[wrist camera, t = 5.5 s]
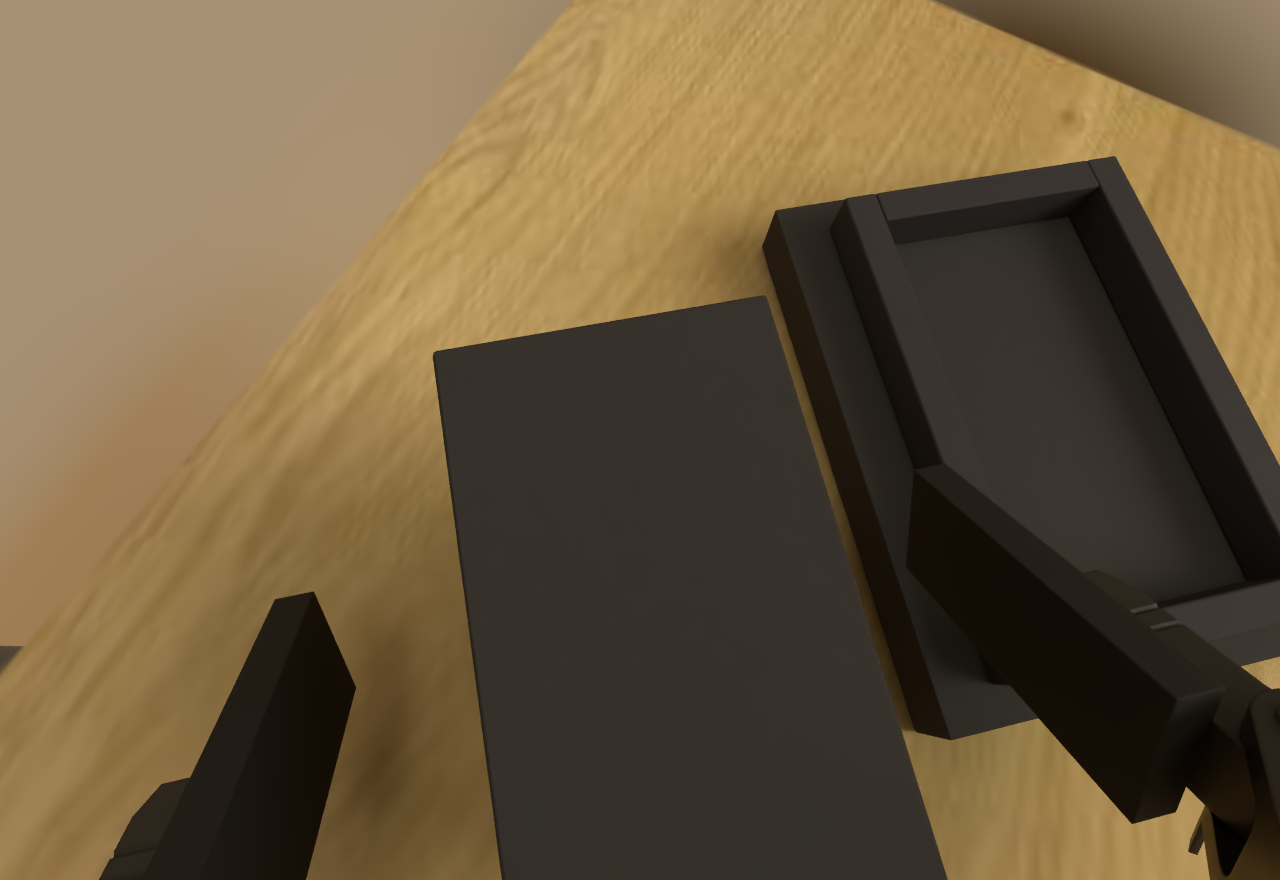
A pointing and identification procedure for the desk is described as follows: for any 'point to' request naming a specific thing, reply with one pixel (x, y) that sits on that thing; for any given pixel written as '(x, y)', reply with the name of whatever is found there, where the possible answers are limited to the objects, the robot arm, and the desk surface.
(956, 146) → the desk surface
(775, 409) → the black block
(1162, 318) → the base pad
